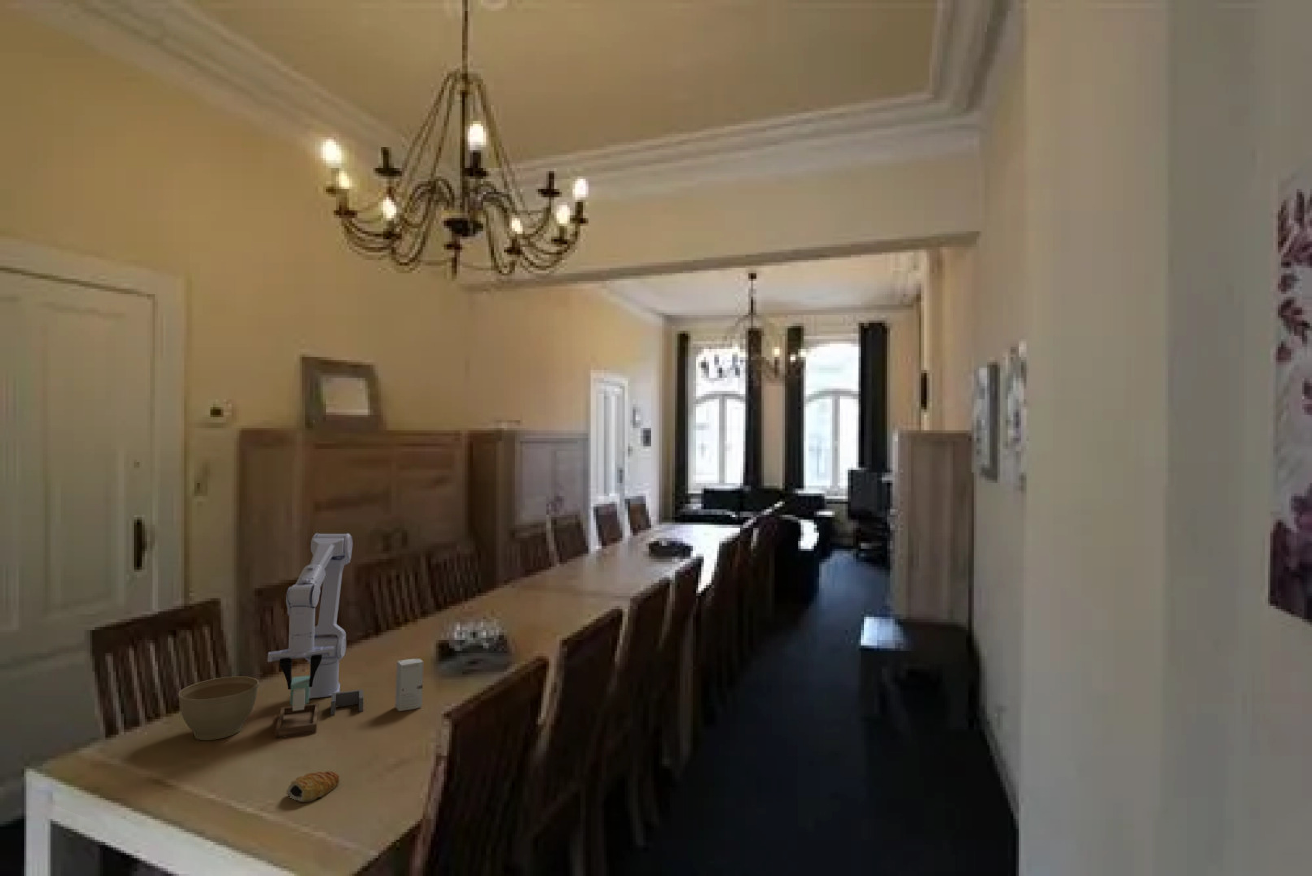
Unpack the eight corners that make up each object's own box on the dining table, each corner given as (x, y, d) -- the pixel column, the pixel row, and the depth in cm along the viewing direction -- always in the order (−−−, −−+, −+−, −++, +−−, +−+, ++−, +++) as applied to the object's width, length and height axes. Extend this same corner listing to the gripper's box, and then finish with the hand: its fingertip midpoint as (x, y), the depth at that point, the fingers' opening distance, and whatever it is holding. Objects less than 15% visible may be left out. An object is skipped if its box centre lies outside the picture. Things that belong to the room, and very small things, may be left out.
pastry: (325, 778, 142) (326, 759, 142) (347, 786, 139) (348, 767, 139) (283, 797, 134) (283, 778, 134) (305, 807, 130) (306, 787, 131)
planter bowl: (247, 714, 174) (248, 671, 174) (265, 733, 162) (267, 687, 163) (170, 731, 163) (172, 685, 163) (184, 753, 151) (186, 704, 151)
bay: (331, 706, 180) (331, 692, 180) (362, 702, 183) (363, 689, 183) (330, 715, 174) (331, 701, 174) (363, 711, 177) (363, 697, 177)
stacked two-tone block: (292, 696, 173) (292, 677, 173) (309, 694, 175) (310, 675, 175) (288, 711, 164) (289, 690, 164) (307, 709, 166) (308, 688, 166)
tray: (281, 715, 174) (281, 707, 174) (318, 710, 177) (319, 703, 177) (275, 737, 160) (275, 729, 160) (316, 732, 164) (316, 724, 164)
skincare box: (398, 712, 177) (400, 665, 177) (394, 706, 181) (395, 660, 181) (423, 707, 181) (424, 661, 181) (418, 702, 184) (419, 657, 185)
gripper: (267, 639, 164) (265, 696, 164) (333, 633, 170) (332, 688, 170) (270, 631, 171) (268, 686, 170) (334, 626, 177) (332, 679, 176)
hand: (300, 686), depth 171 cm, fingers closed on stacked two-tone block, 4 cm apart
